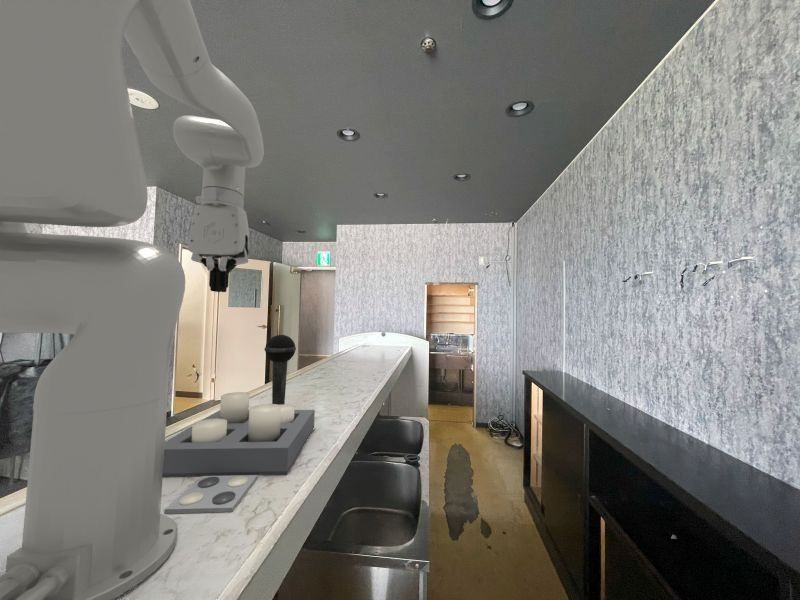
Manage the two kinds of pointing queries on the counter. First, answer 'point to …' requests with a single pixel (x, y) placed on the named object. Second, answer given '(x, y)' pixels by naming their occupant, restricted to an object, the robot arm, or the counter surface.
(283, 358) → the microphone
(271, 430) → the button near right
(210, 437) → the button near left
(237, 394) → the button far left
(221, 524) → the counter surface
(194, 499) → the tile
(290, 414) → the button far right
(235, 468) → the board
